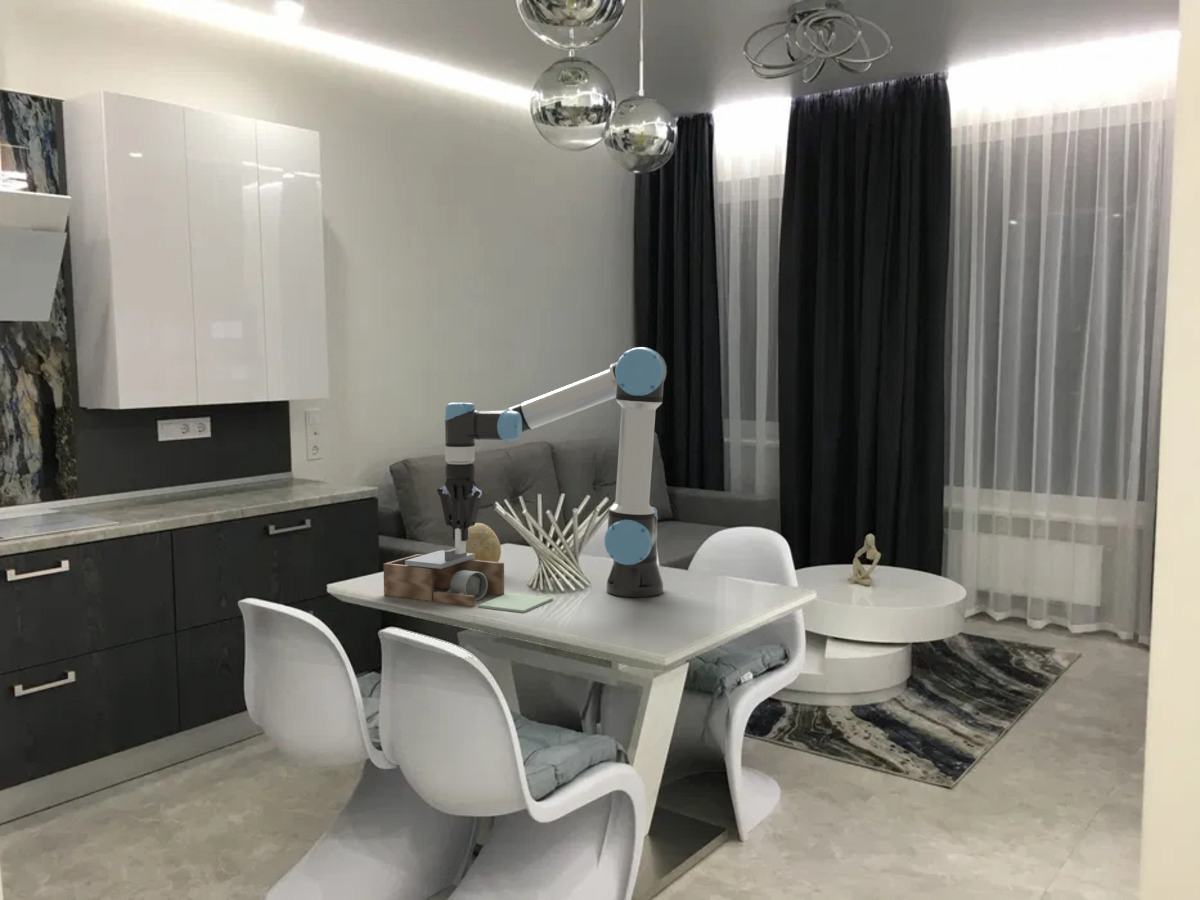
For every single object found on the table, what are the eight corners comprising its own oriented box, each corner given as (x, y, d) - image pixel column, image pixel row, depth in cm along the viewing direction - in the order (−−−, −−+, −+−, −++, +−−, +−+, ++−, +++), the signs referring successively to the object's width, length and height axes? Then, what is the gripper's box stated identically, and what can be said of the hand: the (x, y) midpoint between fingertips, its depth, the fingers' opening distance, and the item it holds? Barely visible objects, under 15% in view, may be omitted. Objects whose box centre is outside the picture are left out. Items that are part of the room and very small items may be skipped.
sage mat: (552, 600, 257) (552, 597, 257) (523, 612, 243) (523, 610, 243) (509, 594, 262) (509, 592, 262) (478, 607, 249) (478, 604, 249)
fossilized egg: (462, 569, 295) (461, 519, 294) (504, 570, 294) (504, 520, 292) (451, 578, 282) (451, 526, 281) (496, 579, 281) (495, 527, 280)
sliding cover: (475, 558, 267) (474, 544, 266) (440, 568, 252) (440, 554, 252) (440, 554, 271) (440, 541, 271) (405, 564, 257) (404, 550, 257)
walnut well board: (504, 594, 263) (504, 562, 262) (473, 606, 250) (473, 573, 249) (417, 584, 275) (417, 554, 274) (384, 595, 261) (383, 563, 261)
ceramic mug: (469, 593, 264) (469, 565, 264) (488, 598, 259) (487, 570, 258) (438, 600, 257) (437, 571, 256) (456, 605, 252) (456, 576, 251)
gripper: (489, 462, 258) (489, 552, 260) (447, 460, 263) (447, 548, 265) (473, 464, 251) (474, 557, 253) (430, 462, 256) (431, 553, 258)
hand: (460, 553), depth 259 cm, fingers closed
